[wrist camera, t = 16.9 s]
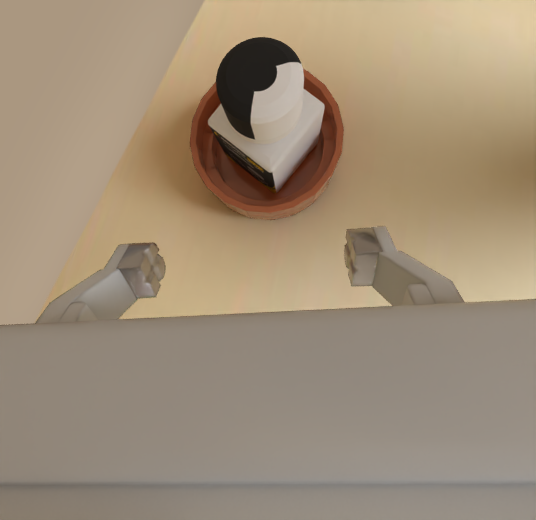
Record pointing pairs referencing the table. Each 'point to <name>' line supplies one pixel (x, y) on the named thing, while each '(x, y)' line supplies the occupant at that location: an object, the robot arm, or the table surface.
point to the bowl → (250, 189)
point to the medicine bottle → (265, 111)
